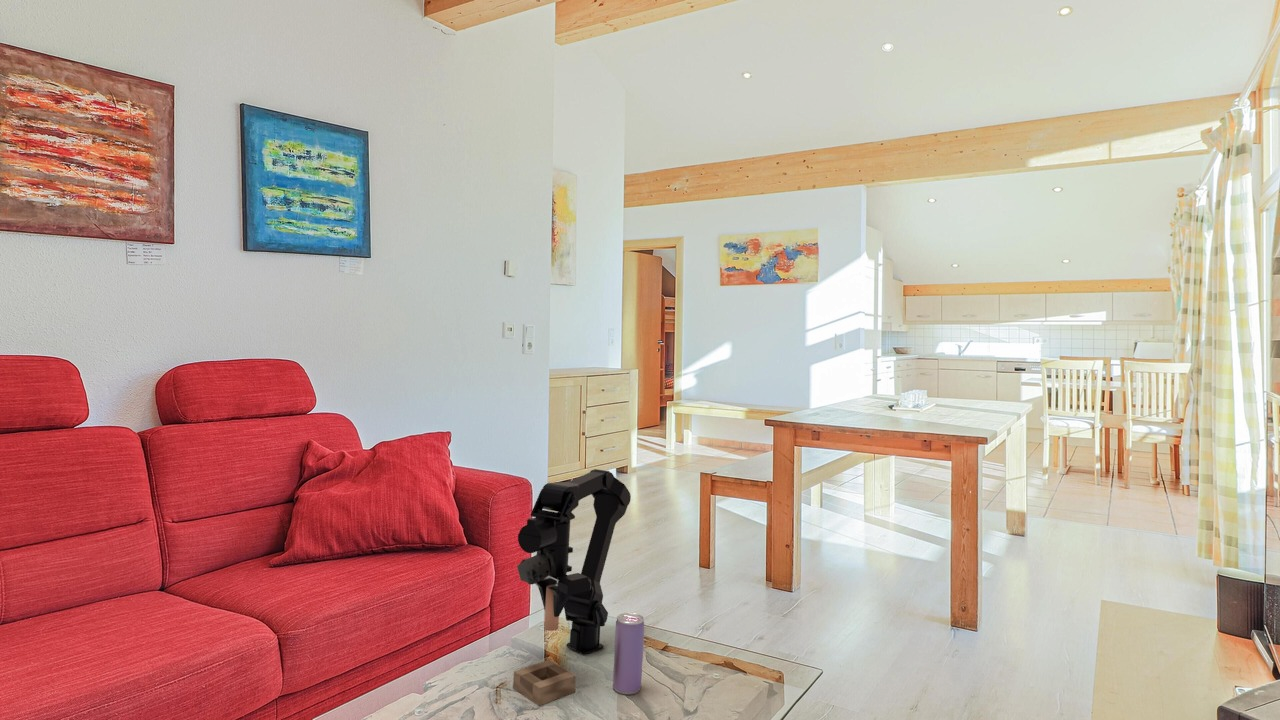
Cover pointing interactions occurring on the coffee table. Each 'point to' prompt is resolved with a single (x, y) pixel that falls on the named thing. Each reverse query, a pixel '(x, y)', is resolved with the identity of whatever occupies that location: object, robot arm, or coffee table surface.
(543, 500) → the robot arm
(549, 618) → the peg
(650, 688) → the coffee table surface
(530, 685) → the socket
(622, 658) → the beverage can
